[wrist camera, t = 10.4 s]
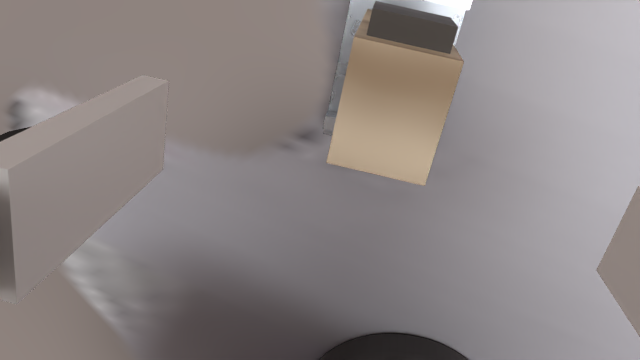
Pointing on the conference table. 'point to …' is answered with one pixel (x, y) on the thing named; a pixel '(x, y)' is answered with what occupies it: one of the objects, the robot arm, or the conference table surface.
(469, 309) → the conference table surface
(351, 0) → the rail
